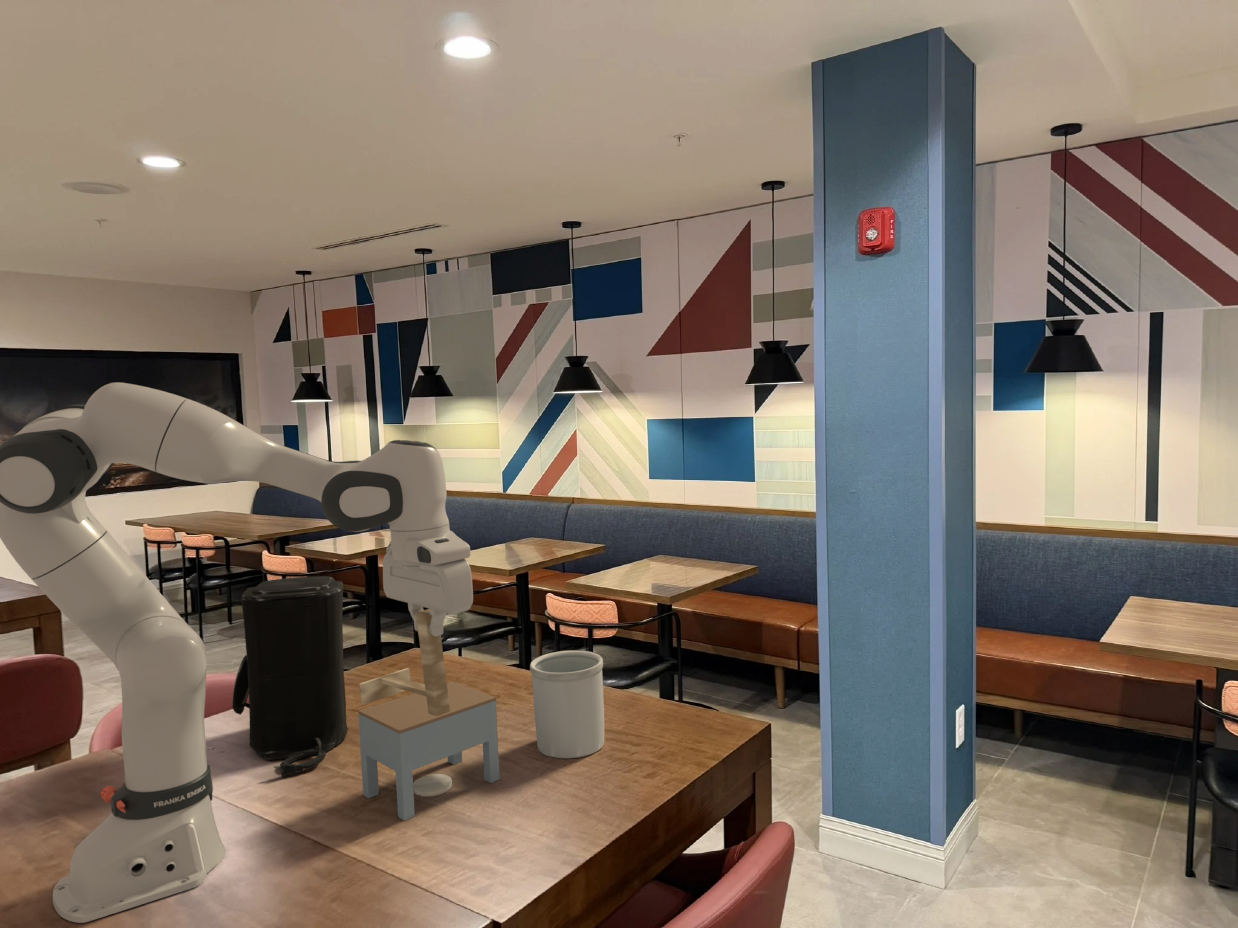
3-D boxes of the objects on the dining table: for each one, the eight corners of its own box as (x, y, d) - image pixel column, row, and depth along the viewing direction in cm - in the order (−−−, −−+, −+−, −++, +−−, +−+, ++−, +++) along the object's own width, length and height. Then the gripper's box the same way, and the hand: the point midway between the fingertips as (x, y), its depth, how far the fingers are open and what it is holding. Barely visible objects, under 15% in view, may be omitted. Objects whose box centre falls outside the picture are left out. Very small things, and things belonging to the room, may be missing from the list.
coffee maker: (332, 706, 192) (324, 566, 190) (389, 748, 167) (381, 586, 165) (229, 733, 178) (219, 581, 176) (275, 783, 153) (263, 606, 151)
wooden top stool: (404, 820, 137) (399, 730, 136) (363, 794, 147) (358, 710, 146) (499, 779, 152) (495, 697, 150) (456, 758, 161) (452, 681, 160)
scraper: (418, 723, 123) (405, 619, 122) (361, 704, 135) (349, 609, 134) (467, 704, 129) (455, 605, 128) (409, 687, 141) (398, 596, 141)
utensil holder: (523, 757, 161) (519, 670, 159) (547, 728, 175) (544, 648, 174) (595, 763, 157) (591, 674, 156) (613, 732, 172) (610, 651, 170)
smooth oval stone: (426, 801, 144) (426, 795, 144) (405, 790, 149) (405, 783, 149) (459, 787, 149) (459, 781, 149) (437, 776, 154) (437, 770, 154)
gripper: (369, 542, 130) (377, 627, 131) (440, 555, 115) (448, 650, 117) (404, 535, 134) (411, 617, 136) (477, 547, 120) (484, 638, 121)
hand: (429, 632), depth 126 cm, fingers closed on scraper, 2 cm apart
